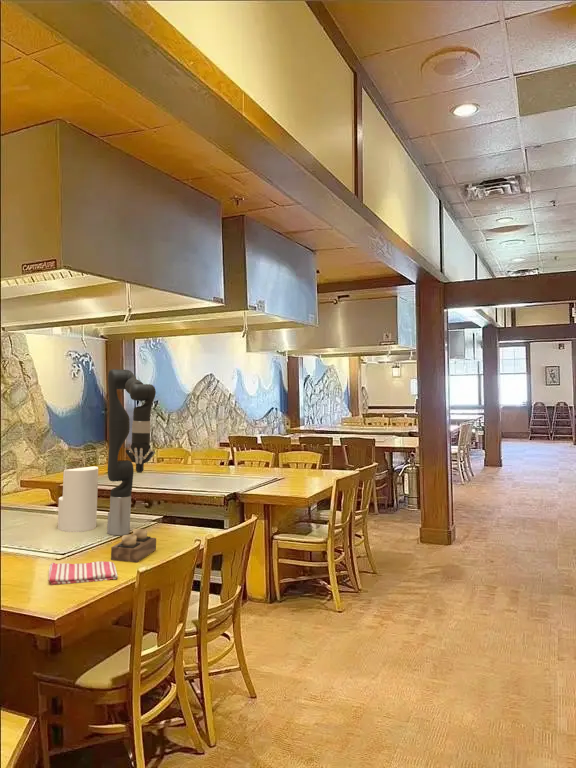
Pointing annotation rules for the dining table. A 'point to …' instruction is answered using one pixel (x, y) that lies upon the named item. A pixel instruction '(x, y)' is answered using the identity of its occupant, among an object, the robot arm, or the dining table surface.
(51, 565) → the dish towel
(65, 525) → the cylinder
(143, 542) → the socket block
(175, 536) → the dining table surface
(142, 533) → the peg
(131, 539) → the peg
